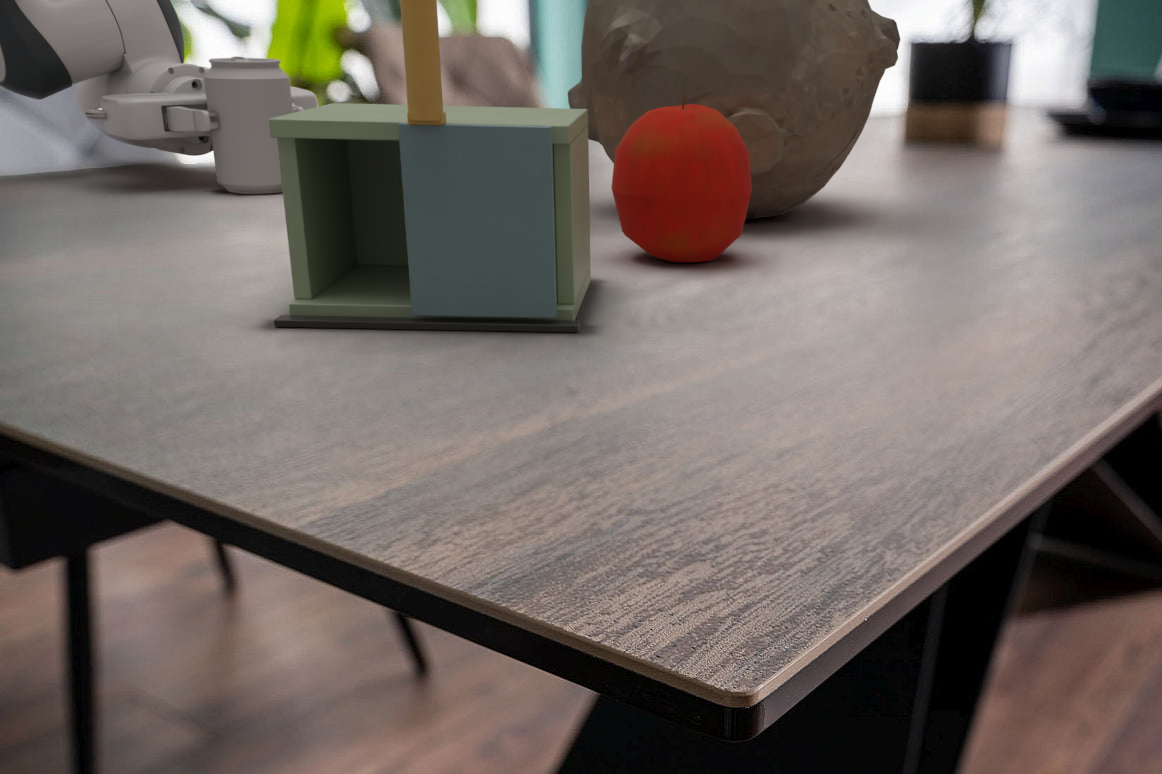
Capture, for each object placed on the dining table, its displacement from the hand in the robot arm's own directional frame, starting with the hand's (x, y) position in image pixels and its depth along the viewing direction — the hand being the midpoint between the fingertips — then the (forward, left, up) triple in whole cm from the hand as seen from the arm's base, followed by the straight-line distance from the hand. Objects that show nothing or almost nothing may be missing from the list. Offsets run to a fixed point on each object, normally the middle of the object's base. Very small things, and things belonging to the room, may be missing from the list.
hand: (257, 119), depth 111 cm
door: (+30, -52, -6) cm, 60 cm away
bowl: (+44, -7, -7) cm, 45 cm away
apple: (+40, -30, -7) cm, 50 cm away
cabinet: (+26, -45, -7) cm, 52 cm away
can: (-1, +1, -7) cm, 7 cm away
